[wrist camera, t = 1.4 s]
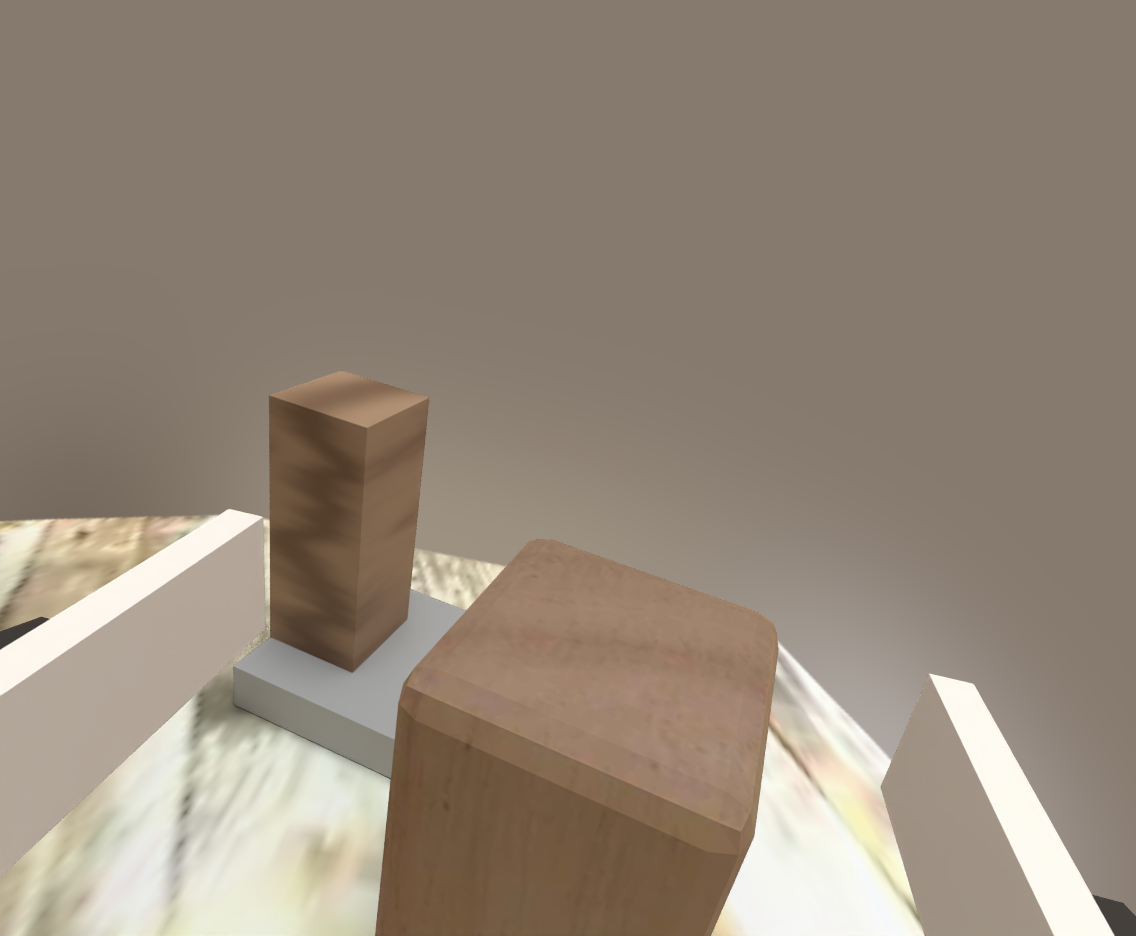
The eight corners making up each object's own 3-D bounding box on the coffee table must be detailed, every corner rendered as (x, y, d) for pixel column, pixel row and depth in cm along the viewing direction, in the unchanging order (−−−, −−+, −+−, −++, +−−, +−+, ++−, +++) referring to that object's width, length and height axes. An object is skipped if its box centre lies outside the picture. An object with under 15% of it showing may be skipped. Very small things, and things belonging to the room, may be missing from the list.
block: (472, 856, 35) (533, 521, 27) (658, 948, 33) (788, 611, 24) (351, 1074, 26) (385, 677, 18) (592, 1222, 24) (762, 842, 15)
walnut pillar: (270, 637, 42) (269, 395, 36) (332, 589, 47) (341, 370, 41) (352, 673, 41) (367, 427, 34) (407, 619, 46) (429, 397, 39)
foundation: (234, 704, 41) (233, 664, 40) (356, 601, 51) (358, 567, 50) (610, 882, 35) (623, 842, 34) (661, 725, 46) (673, 690, 44)
